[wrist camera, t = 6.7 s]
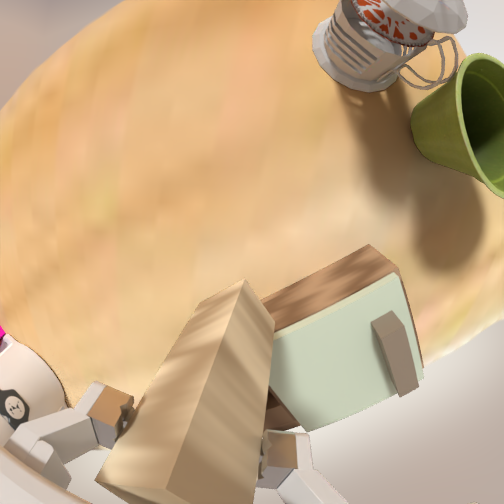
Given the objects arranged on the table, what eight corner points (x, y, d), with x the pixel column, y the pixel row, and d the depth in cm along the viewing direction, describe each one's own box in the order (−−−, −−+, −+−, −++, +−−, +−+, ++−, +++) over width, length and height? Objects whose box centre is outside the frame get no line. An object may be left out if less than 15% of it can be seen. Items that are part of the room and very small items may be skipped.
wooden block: (230, 342, 17) (169, 524, 5) (199, 302, 16) (94, 480, 5) (275, 322, 16) (248, 530, 5) (245, 278, 15) (165, 489, 4)
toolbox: (258, 398, 33) (257, 438, 27) (202, 326, 30) (188, 365, 24) (400, 334, 30) (423, 367, 23) (369, 244, 27) (397, 267, 20)
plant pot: (470, 99, 21) (535, 89, 10) (465, 193, 25) (534, 212, 14) (390, 64, 21) (450, 27, 10) (384, 171, 25) (453, 180, 14)
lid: (306, 425, 25) (309, 450, 22) (245, 345, 22) (242, 372, 19) (420, 372, 23) (433, 393, 20) (393, 272, 20) (413, 289, 17)
